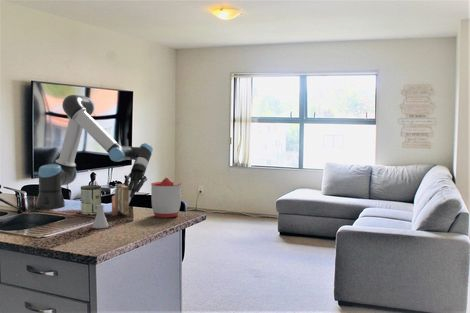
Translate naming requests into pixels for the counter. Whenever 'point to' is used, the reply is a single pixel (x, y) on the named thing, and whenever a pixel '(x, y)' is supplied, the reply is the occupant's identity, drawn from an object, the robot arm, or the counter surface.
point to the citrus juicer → (166, 198)
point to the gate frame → (114, 205)
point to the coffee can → (90, 199)
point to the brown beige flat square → (122, 198)
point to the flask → (100, 218)
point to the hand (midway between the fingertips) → (127, 201)
